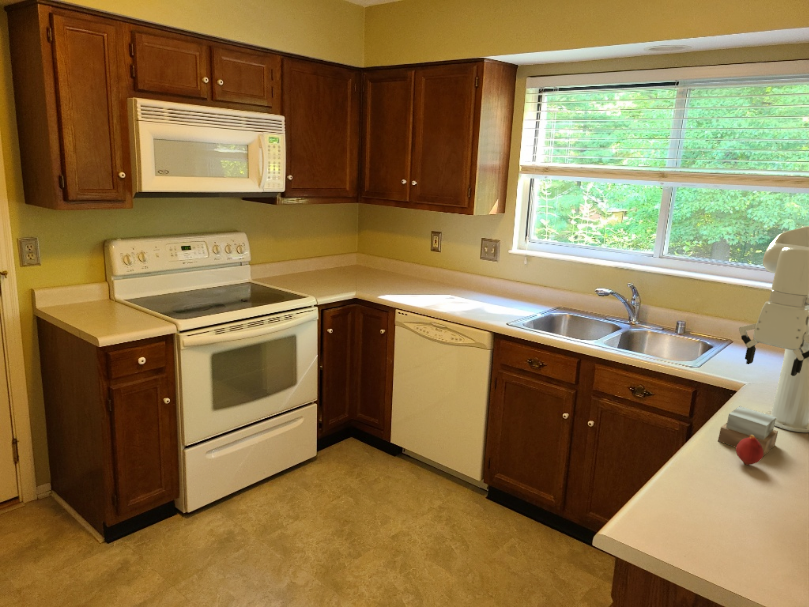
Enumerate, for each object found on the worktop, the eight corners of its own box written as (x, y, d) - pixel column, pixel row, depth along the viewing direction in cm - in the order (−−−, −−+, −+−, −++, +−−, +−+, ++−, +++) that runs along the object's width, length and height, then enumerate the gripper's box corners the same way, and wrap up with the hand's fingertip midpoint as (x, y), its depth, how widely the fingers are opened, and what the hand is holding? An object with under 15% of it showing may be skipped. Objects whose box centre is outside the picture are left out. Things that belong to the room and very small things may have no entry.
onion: (751, 459, 153) (757, 430, 151) (765, 471, 148) (772, 441, 146) (728, 458, 153) (735, 429, 151) (741, 469, 147) (748, 439, 145)
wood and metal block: (731, 430, 170) (736, 403, 169) (774, 445, 163) (781, 417, 161) (717, 441, 163) (723, 413, 161) (763, 456, 155) (769, 428, 153)
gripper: (834, 306, 140) (816, 377, 143) (752, 291, 151) (737, 357, 155) (827, 309, 134) (808, 382, 138) (743, 293, 146) (727, 361, 149)
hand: (770, 368), depth 146 cm, fingers open, 9 cm apart
